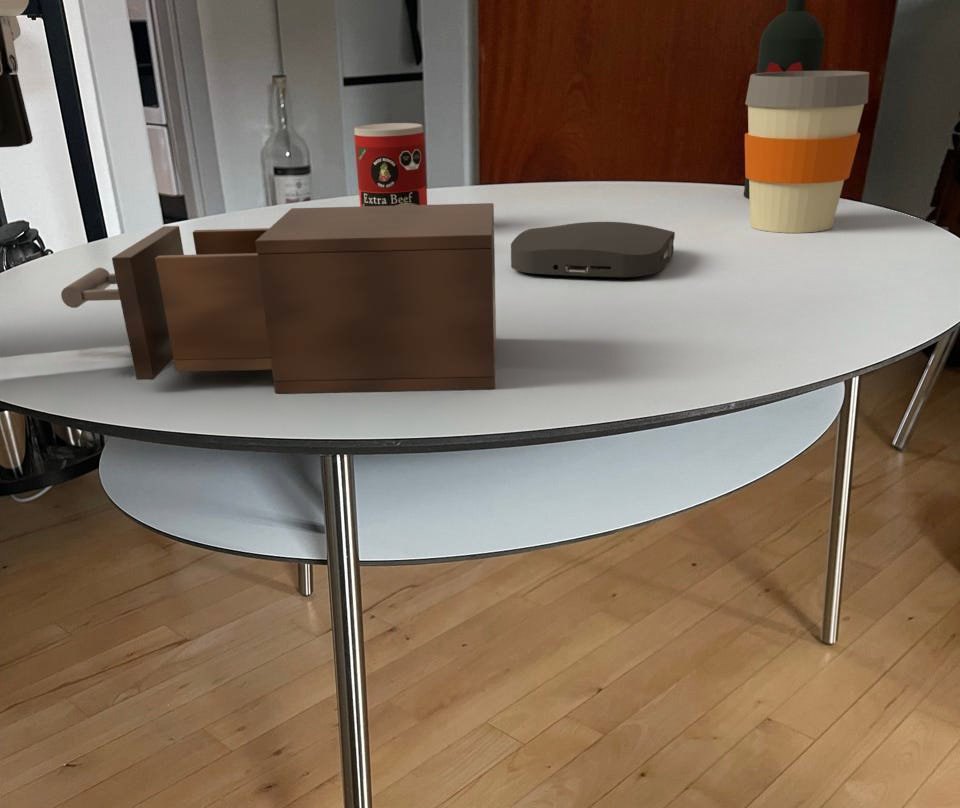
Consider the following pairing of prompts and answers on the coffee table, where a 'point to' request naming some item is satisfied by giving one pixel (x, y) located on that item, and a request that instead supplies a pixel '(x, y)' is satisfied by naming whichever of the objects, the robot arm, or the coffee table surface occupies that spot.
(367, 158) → the canned food
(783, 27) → the wine bottle
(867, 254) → the coffee table surface
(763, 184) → the reusable coffee cup
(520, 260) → the media streaming box
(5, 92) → the robot arm
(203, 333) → the drawer
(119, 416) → the coffee table surface
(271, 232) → the cabinet
